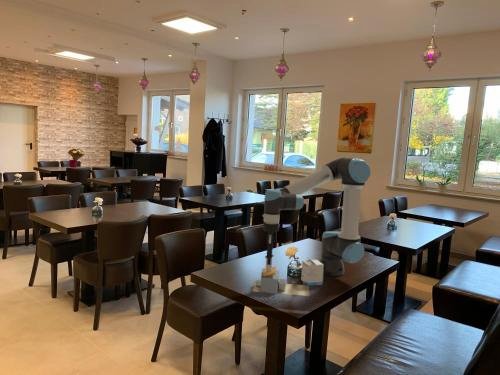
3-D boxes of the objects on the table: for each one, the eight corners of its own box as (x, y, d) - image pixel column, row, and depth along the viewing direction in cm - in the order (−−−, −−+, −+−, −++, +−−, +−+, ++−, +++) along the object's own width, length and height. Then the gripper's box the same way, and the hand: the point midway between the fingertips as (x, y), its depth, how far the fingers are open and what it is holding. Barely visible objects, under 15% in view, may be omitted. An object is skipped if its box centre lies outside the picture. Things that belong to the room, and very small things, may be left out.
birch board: (308, 287, 185) (308, 285, 185) (309, 298, 172) (309, 296, 172) (254, 283, 188) (254, 281, 188) (251, 293, 175) (251, 291, 175)
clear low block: (285, 286, 183) (285, 279, 183) (285, 291, 177) (285, 284, 176) (256, 283, 184) (257, 277, 184) (255, 288, 178) (256, 281, 177)
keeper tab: (275, 267, 184) (275, 265, 184) (275, 274, 174) (274, 272, 174) (262, 270, 185) (262, 268, 185) (261, 277, 175) (260, 275, 175)
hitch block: (278, 283, 186) (278, 270, 185) (277, 292, 174) (278, 279, 173) (262, 282, 187) (262, 269, 186) (260, 291, 175) (261, 278, 174)
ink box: (322, 286, 188) (324, 261, 186) (307, 288, 185) (309, 262, 184) (315, 280, 196) (316, 256, 194) (300, 281, 193) (302, 256, 192)
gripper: (264, 219, 184) (261, 265, 186) (262, 224, 171) (259, 274, 173) (279, 220, 183) (276, 266, 186) (278, 225, 170) (275, 275, 173)
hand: (268, 270), depth 179 cm, fingers closed
